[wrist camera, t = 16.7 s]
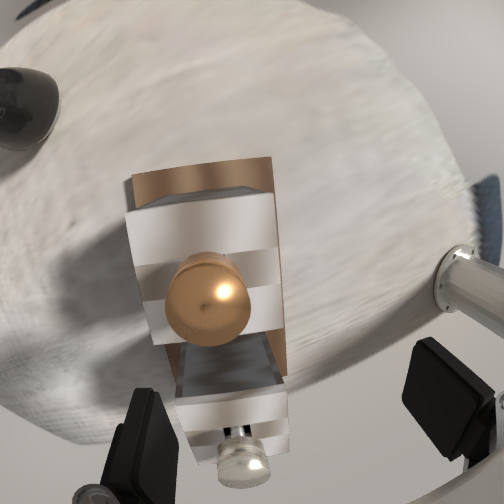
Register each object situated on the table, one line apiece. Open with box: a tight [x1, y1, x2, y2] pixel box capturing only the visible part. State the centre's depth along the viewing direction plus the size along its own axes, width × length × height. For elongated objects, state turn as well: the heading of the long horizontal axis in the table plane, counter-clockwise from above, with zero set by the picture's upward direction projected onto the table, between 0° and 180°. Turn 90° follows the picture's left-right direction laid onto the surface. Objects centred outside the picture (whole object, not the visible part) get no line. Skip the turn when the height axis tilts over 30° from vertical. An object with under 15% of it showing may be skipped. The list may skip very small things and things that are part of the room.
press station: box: [125, 157, 289, 465], centre depth 28 cm, size 16×30×18 cm, turn 6°
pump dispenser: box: [0, 67, 61, 151], centre depth 20 cm, size 10×10×15 cm
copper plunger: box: [165, 252, 251, 346], centre depth 23 cm, size 7×7×20 cm
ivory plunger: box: [216, 425, 271, 489], centre depth 27 cm, size 7×7×20 cm
